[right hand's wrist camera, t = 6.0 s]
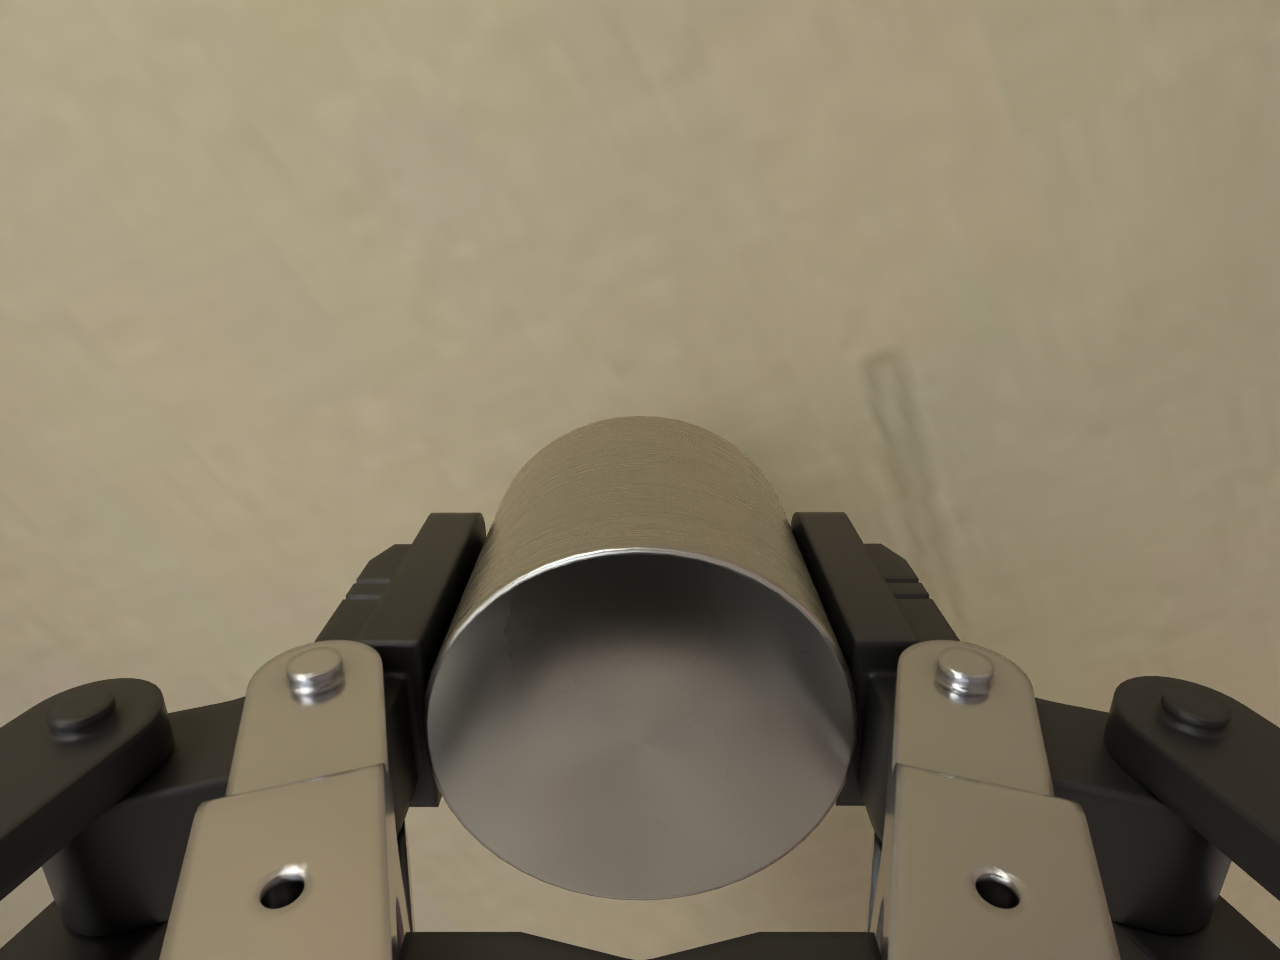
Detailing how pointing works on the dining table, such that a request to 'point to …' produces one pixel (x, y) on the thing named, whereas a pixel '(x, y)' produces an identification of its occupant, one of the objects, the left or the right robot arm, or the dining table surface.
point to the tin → (640, 671)
